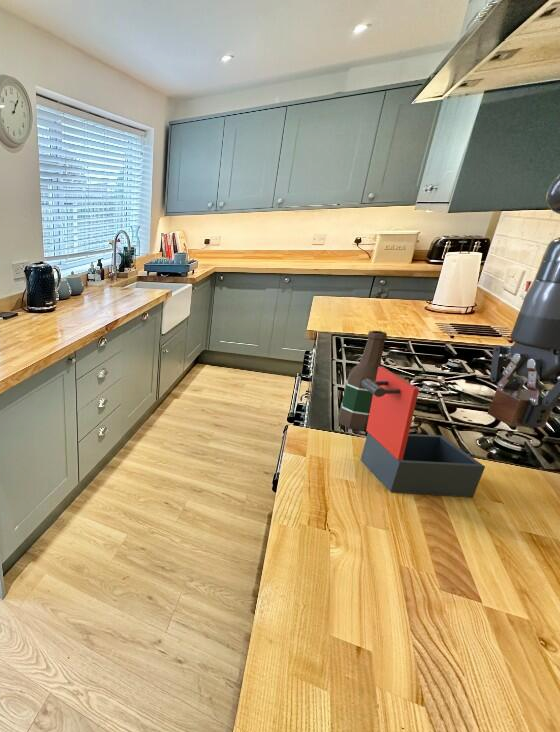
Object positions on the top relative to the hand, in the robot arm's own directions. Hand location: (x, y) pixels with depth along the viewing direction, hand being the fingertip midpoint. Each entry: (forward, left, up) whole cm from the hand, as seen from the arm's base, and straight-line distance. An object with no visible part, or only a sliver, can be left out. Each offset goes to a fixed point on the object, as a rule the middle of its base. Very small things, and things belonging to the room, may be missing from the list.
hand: (515, 418), depth 66 cm
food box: (+8, -9, -19) cm, 23 cm away
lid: (+14, -6, -5) cm, 16 cm away
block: (0, 0, 0) cm, 0 cm away
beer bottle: (+18, -30, -19) cm, 40 cm away
